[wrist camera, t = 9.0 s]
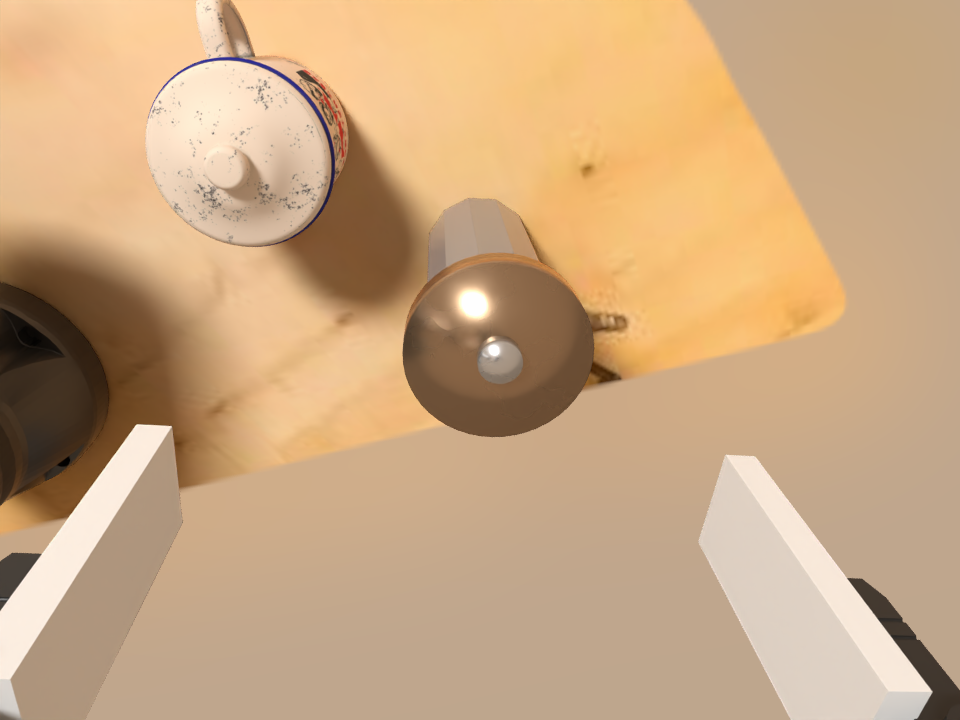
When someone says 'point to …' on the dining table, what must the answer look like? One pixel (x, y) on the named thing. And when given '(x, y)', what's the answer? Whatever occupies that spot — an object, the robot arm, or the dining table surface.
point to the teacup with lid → (245, 138)
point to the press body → (476, 233)
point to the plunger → (497, 345)
